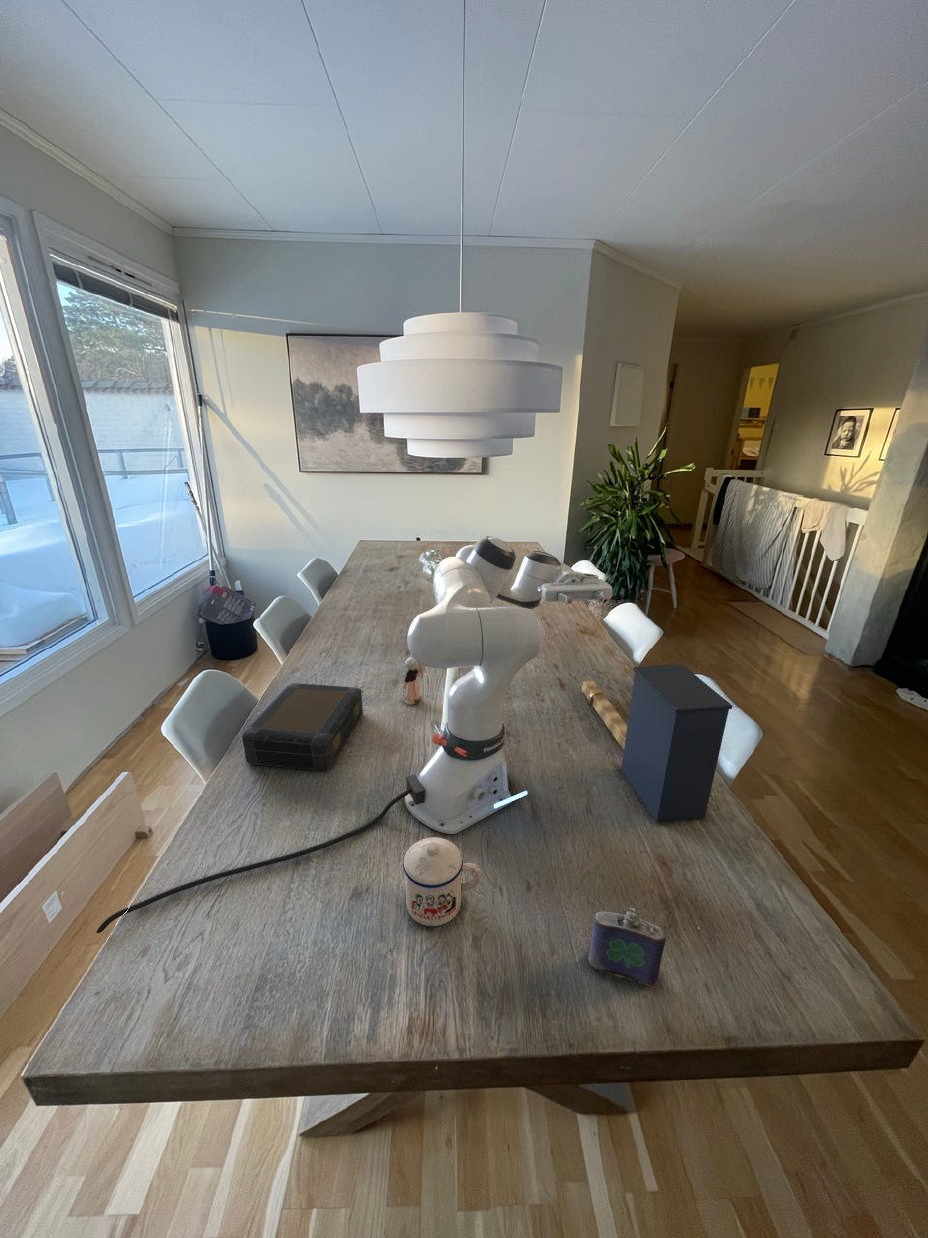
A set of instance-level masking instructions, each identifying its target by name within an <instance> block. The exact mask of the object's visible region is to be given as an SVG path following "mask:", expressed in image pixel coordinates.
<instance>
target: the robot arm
mask: <svg viewBox="0 0 928 1238" xmlns="http://www.w3.org/2000/svg"><path fill="white" fill-rule="evenodd" d="M516 558H517V555H516V553H515V550H514V549H513V548H512V547H511V546H510V545H509V543H507V542H506V541H505V540H503V539H501V538H498V537H493V536H489V535H487V536H484V537H482V538H480V539H479V540H478V541H477V542H476V543H475V544H469V545H466V546H463V547H462V548H460V549H459V550H458V551H457V552H456V555H455V556H448V557H446V558H444V559H443V560H441V561H440V562H439V563H438V564H437V565H436V567H435V570H434V573H433V580H432V583H433V588H432V589H433V594H434V598H435V601H436V604H435V606H434V607H433V608H431V609H429V610H427V611H425V612H423V613H420V614H418V615H416V616H415V617H414V619H413V620H412V621H411V623H410V625H409V628H408V631H407V636H406V643H407V648H408V651H409V653H410V655H411V658H414V660H415V661H416V662H417V663H416V664H418V665H420V666H421V667H428V668H436V669H443V670H445V669H458V668H459V669H460V668H471V667H473V668H472V669H471V670H470V671H469V672H467V673H465V674H464V675H461V677H459V678H458V679H456V680H455V681H454V683H452V685H451V686H450V689H449V690H448V693H447V721H446V723H445V727H444V730H443V733H442V735H441V734H440V733H438V732H436V733H434V734H433V736H432V738H431V742H432V743H433V744H435V745H437V746H439V747H438V748H437V749H436V750H435V752H434V753H433V755H432V756H431V757H430V759H428V761H427V763H426V764H425V765H424V767H423V768H422V770H421V771H420V773H419V774H418V777H417V775H416V774H415V773H414V774H410V775H406V777H405V780H406V781H405V783H406V790H405V791H403V792H401V793H400V794H398V795H397V796H395V797H394V798H393V799H392V800H390V801H389V802H388V803H387V804H386V806H385V807H384V809H383V810H382V811H381V813H380V814H378V815H377V816H376V817H375V818H373V819H372V820H371V821H368V822H367V823H366V824H364V825H362V826H360V827H358V828H355V829H353V830H351V831H348V832H347V833H344V834H342V835H340V836H338V837H335V838H333V839H329V840H328V841H326V842H322V843H319V844H317V845H314V846H311V847H308V848H304V849H302V850H299V851H296V852H292V853H288V854H285V855H280V856H277V857H274V858H270V859H265V860H261V861H258V862H254V863H251V864H247V865H244V866H239V867H236V868H232V869H228V870H224V871H222V872H218V873H215V874H214V873H213V874H211V875H207V876H205V877H201V878H199V879H196V880H192V881H189V882H187V883H183V884H181V885H179V886H176V887H173V888H170V889H168V890H165V891H163V892H160V893H158V894H156V895H153V896H151V897H149V898H147V899H143V900H142V901H140V902H137V903H135V904H132V905H130V908H129V909H128V907H129V906H127V907H124V908H122V909H119V910H118V911H116V912H115V913H113V914H111V915H110V916H108V917H107V918H106V919H105V920H104V921H102V923H101V924H100V925H99V927H98V928H97V930H96V931H95V933H96V934H100V933H102V932H104V931H105V930H106V929H107V927H108V926H109V925H111V923H112V922H114V921H115V920H117V919H118V918H120V917H123V916H124V915H126V914H129V913H131V912H134V911H137V910H139V909H141V908H144V907H147V906H148V905H151V904H153V903H155V902H157V901H159V900H162V899H165V898H167V897H169V896H172V895H174V894H178V893H179V892H180V893H181V892H182V891H186V890H188V889H191V888H193V887H197V886H200V885H203V884H206V883H208V882H212V881H216V880H219V879H223V878H226V877H229V876H233V875H236V874H240V873H245V872H247V871H251V870H255V869H258V868H262V867H266V866H271V865H274V864H278V863H281V862H285V861H288V860H289V861H290V860H293V859H295V858H299V857H302V856H304V855H308V854H310V853H314V852H317V851H319V850H322V849H325V848H328V847H330V846H332V845H335V844H337V843H340V842H342V841H344V840H346V839H348V838H351V837H354V836H356V835H358V834H361V833H362V832H364V831H366V830H367V829H369V828H371V827H373V826H374V825H376V824H377V823H378V822H380V821H381V820H382V819H383V818H384V817H385V816H386V815H387V813H388V812H389V810H390V809H391V808H392V807H393V806H394V805H395V804H396V803H397V802H399V801H400V800H402V799H403V798H404V805H405V807H406V809H407V810H408V812H409V813H410V815H412V816H413V817H414V818H415V819H417V820H418V821H419V822H420V823H422V824H424V825H425V826H427V827H428V828H429V829H432V830H434V831H437V832H439V833H443V834H446V835H447V834H448V835H456V834H458V833H461V832H462V831H464V830H465V829H467V828H469V827H471V826H472V825H474V824H476V823H479V822H480V821H482V820H483V819H485V818H487V817H489V816H490V815H493V814H494V813H496V812H498V811H500V810H501V809H504V808H505V807H507V806H509V805H510V804H511V803H512V802H513V801H515V800H517V799H520V798H523V797H524V796H527V795H528V791H527V790H525V791H522V792H520V793H518V794H516V795H511V791H510V790H509V780H508V769H507V768H508V767H507V762H506V758H505V752H504V745H505V739H506V732H505V731H506V730H505V729H506V728H505V724H504V710H505V701H506V695H507V692H508V690H509V687H510V685H511V683H512V682H513V680H514V678H515V677H516V675H517V674H518V673H519V672H520V670H522V668H523V667H525V666H526V664H528V663H529V662H530V661H532V660H533V659H535V658H536V657H537V656H538V655H539V653H540V652H541V650H542V649H543V646H544V643H545V637H546V636H545V635H546V634H545V627H544V624H543V621H542V619H541V618H540V616H539V615H538V613H536V611H534V610H533V609H535V608H537V607H539V606H540V603H541V600H543V601H544V602H548V603H552V602H553V603H557V602H558V603H559V602H561V603H564V604H566V605H572V602H577V601H579V602H580V601H596V602H598V603H605V600H610V599H611V598H612V596H613V586H612V585H610V584H609V583H608V582H607V581H605V580H604V579H601V578H599V575H597V574H593V573H584V572H579V571H578V570H577V571H575V570H574V569H573V568H572V567H570V565H567V563H564V562H561V561H560V560H559V559H558V558H557V557H556V556H554V555H552V554H550V553H548V552H544V551H541V550H534V551H531V552H528V553H526V554H525V555H524V557H523V559H522V562H521V565H520V567H519V570H518V572H517V575H516V577H515V579H514V575H515V571H516V570H515V569H516V566H515V565H516V564H515V562H516ZM513 579H514V582H513ZM512 583H513V584H512ZM496 599H498V600H500V601H502V602H506V603H509V604H511V605H500V606H492V605H493V603H494V602H495V600H496ZM513 605H515V606H513ZM127 910H128V911H127ZM126 911H127V913H126V914H124V913H125V912H126ZM123 914H124V915H123Z"/></svg>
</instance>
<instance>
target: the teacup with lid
mask: <svg viewBox="0 0 928 1238" xmlns="http://www.w3.org/2000/svg"><path fill="white" fill-rule="evenodd" d="M402 861H403V862H402V868H403V869H402V870H403V872H404V879H405V880H404V881H405V882H404V883H405V902H406V904H405V905H406V909H407V912H408V914H409V916H410V917H411V918H412V920H414V921H415V922H417V923H418V924H420V925H423V926H426V927H437V926H442V925H445V924H447V923H449V922H451V921H452V920H453V919H454V918H455V917H456V916H457V914H458V912H459V911H460V908H461V904H462V892H468V891H471V890H473V889H475V888H476V887H477V886H478V885H479V884H480V882H481V879H482V870H481V868H480V866H479V865H477V864H476V863H473V862H464V859H463V855H462V852H461V851H460V849H459V847H458V846H456V844H455V843H453V841H450V840H448V839H446V838H443V837H434V836H432V837H426V838H422V839H420V840H418V841H416V842H415V843H413V844H412V845H411V846H410V847H409V848H408V849H407V851H406V853H405V854H404V857H403V860H402ZM463 872H473V873H475V876H474V877H473V879H472V880H470V881H468V882H467V881H466V882H463V883H462V873H463Z"/></svg>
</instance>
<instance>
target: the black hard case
mask: <svg viewBox="0 0 928 1238" xmlns="http://www.w3.org/2000/svg"><path fill="white" fill-rule="evenodd" d="M363 714H364V709H363V694H362V689H361V688H360V687H353V686H342V685H341V686H340V685H329V684H328V685H326V684H315V683H301V682H292V683H290V684H288V685H287V686H286V687H285V688H284V689H283V690H282V691H281V692H280V693H279V694H278V695H277V696H276V697H275V698H274V700H273V701H272V702H270V704H269V705H268V706H267V707H266V708H265V709H263V711H262V712H261V713H260V714H259V716H257V718H256V719H255V720H254V721H252V723H251V724H250V725H249V726H248V727H247V728H246V729H245V730H244V731H243V732H242V737H241V738H242V744H243V750H244V755H245V761H246V763H247V764H250V765H255V766H257V765H258V766H265V767H278V768H288V769H297V770H298V769H299V770H307V771H320V772H324V771H328V770H330V769H331V768H332V767H333V765H334V764H335V762H336V760H337V759H338V757H339V755H340V754H341V752H342V751H343V748H344V747H345V745H346V743H347V742H348V740H349V738H350V737H351V735H352V733H353V732H354V730H355V728H356V727H357V725H358V723H359V721H360V720H361V718H362V717H363Z"/></svg>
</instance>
